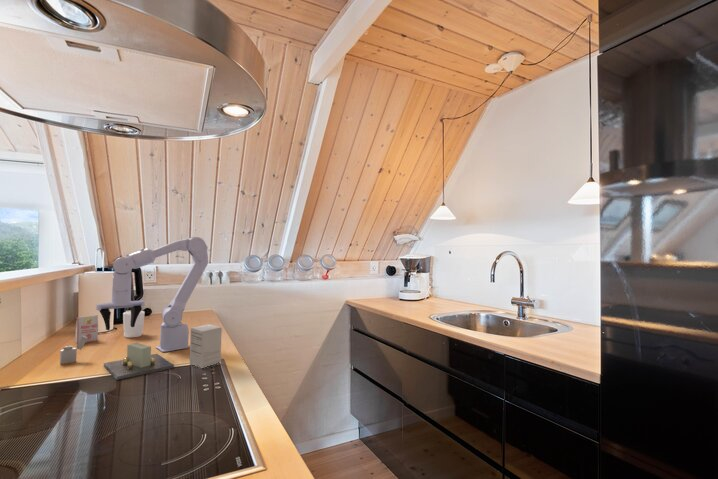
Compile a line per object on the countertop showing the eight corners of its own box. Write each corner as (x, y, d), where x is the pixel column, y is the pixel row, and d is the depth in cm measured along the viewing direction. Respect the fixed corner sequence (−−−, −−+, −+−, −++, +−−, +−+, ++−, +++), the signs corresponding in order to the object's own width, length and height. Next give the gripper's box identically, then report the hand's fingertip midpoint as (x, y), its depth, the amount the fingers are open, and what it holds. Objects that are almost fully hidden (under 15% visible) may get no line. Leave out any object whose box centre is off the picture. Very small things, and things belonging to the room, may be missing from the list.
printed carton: (75, 341, 146) (76, 316, 146) (95, 338, 151) (96, 314, 151) (76, 343, 143) (77, 318, 143) (97, 340, 148) (98, 316, 148)
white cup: (127, 339, 152) (128, 314, 152) (118, 335, 156) (119, 312, 156) (147, 335, 158) (148, 312, 158) (138, 332, 163) (139, 310, 163)
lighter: (60, 364, 120) (61, 339, 120) (59, 362, 121) (60, 338, 121) (87, 359, 125) (88, 336, 125) (86, 358, 126) (87, 335, 126)
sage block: (136, 360, 123) (136, 342, 123) (150, 365, 119) (151, 346, 119) (126, 362, 120) (127, 344, 120) (141, 367, 116) (142, 348, 117)
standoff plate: (156, 356, 131) (157, 348, 131) (173, 367, 120) (174, 358, 120) (103, 366, 119) (103, 357, 119) (116, 380, 108) (117, 369, 108)
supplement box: (208, 359, 130) (209, 323, 130) (221, 364, 125) (222, 327, 125) (188, 364, 124) (190, 327, 124) (201, 369, 119) (202, 330, 119)
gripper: (140, 287, 140) (139, 323, 140) (94, 290, 130) (93, 329, 130) (146, 289, 135) (145, 326, 135) (99, 292, 125) (98, 332, 125)
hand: (120, 328), depth 132 cm, fingers open, 7 cm apart
